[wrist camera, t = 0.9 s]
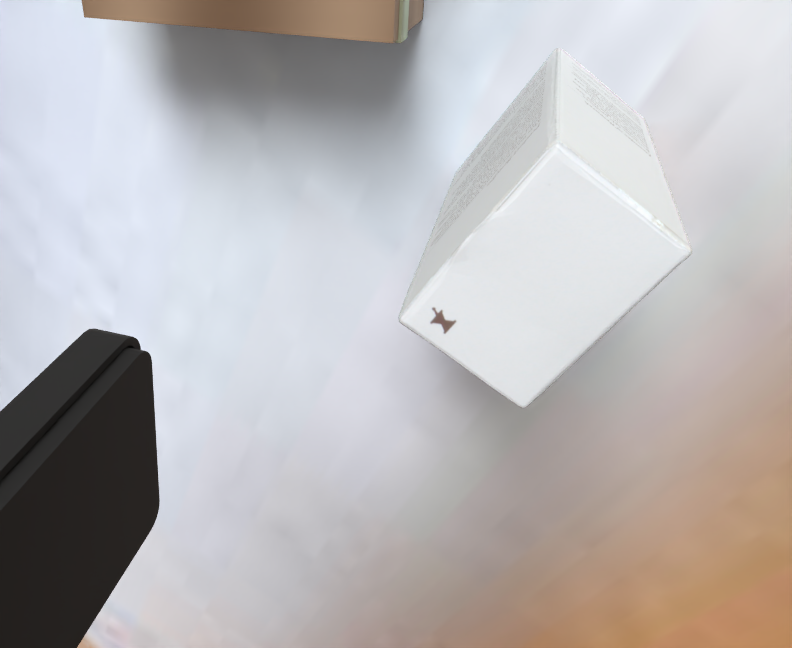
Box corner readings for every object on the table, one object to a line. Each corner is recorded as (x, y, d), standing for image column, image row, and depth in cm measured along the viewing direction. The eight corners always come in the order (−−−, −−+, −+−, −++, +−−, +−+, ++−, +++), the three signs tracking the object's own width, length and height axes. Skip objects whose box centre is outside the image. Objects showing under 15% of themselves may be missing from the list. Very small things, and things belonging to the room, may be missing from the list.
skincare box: (539, 237, 30) (520, 418, 19) (454, 171, 29) (387, 322, 19) (653, 116, 26) (701, 255, 16) (560, 39, 26) (549, 133, 16)
